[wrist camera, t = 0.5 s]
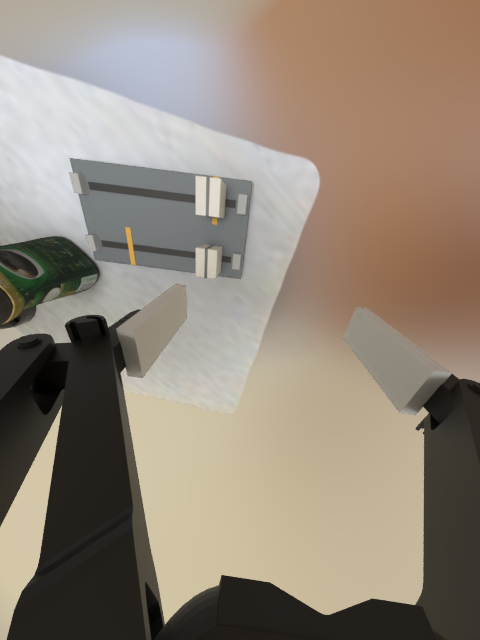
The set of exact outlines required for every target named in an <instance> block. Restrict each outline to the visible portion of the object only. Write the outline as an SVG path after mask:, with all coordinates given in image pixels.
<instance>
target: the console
mask: <svg viewBox="0 0 480 640" xmlns="http://www.w3.org/2000/svg"><path fill="white" fill-rule="evenodd" d="M70 162H71V166H72V170H73V173H70V172H69V174H70V178H71V182H72V186H73V190H74V193H78V194H79V198H80V202H81V206H82V210H83V214H84V218H85V222H86V226H87V230H88V235H85V236H86V240H87V244H88V248H89V251H93V254H94V258H95V260H99V261H107V262H114V263H122V264H130V265H135V266H136V265H137V266H145V267H153V268H161V269H168V270H176V271H184V272H191V273H196V247H198V246H201V245H203V244H207V245H215V246H223V247H222V263H221V272H220V273H219V275H218V276H222V277H230V278H238V279H241V275H242V266H243V257H244V249H245V240H246V232H247V223H248V215H249V206H250V198H251V189H252V181H246V180H238V179H230V178H222V177H217V176H209V177H211V178H219V179H221V180H222V181H223V182H224V184H225V185H226V200H225V216H224V218H218V217H216V218H214V217H207V216H202V215H196V176H203V177H206V176H207V175H199V174H191V173H183V172H175V171H167V170H159V169H151V168H144V167H136V166H128V165H120V164H112V163H104V162H96V161H88V160H81V159H73V158H70Z"/></svg>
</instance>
